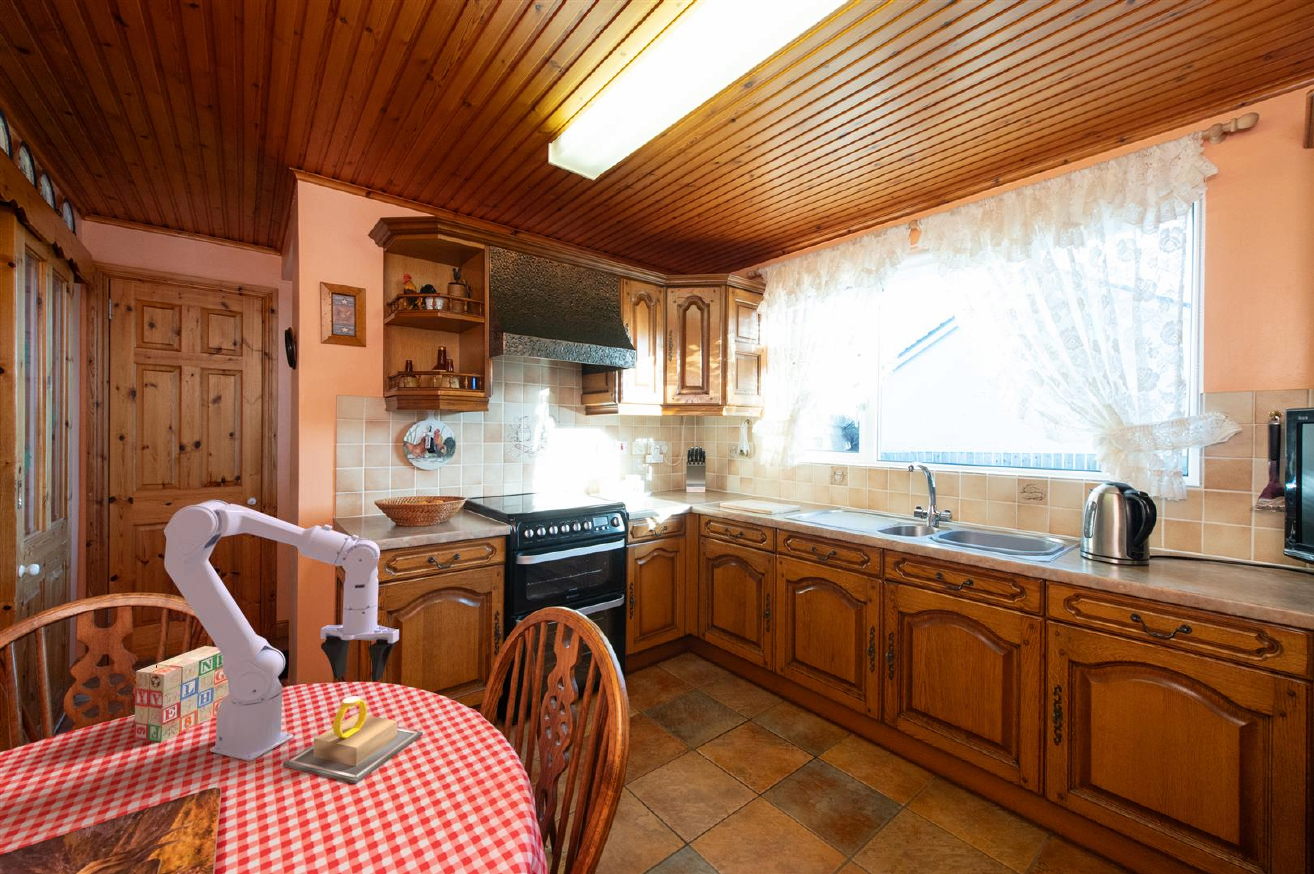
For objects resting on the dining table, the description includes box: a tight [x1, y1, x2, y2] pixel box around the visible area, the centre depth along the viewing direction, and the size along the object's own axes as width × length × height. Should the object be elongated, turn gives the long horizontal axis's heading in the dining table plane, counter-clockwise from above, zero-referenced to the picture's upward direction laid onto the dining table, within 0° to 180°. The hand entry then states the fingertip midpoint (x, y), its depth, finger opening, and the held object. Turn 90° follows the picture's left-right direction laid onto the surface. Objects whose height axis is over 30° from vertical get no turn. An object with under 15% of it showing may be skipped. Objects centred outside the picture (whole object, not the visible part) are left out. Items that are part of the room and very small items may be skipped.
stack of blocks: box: [133, 645, 229, 743], centre depth 106 cm, size 21×6×12 cm, turn 169°
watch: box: [332, 695, 368, 739], centre depth 92 cm, size 6×3×6 cm, turn 166°
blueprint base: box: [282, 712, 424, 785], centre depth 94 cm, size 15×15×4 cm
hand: (358, 678), depth 101 cm, fingers open, 7 cm apart
